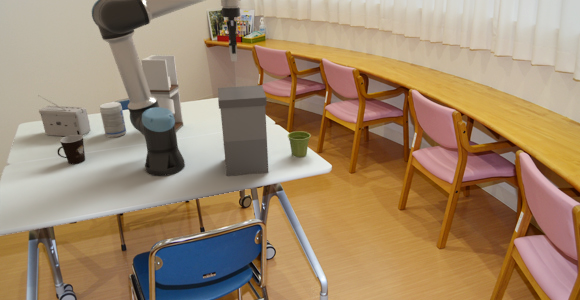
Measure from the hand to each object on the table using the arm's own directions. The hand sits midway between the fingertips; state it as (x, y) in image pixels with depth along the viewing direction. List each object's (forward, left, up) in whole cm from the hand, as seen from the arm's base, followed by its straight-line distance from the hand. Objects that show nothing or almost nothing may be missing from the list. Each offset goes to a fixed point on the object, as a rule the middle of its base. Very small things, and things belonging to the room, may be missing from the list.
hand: (233, 58), depth 196 cm
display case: (-37, +7, -36) cm, 52 cm away
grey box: (+10, -32, -36) cm, 50 cm away
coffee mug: (-63, -33, -36) cm, 80 cm away
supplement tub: (-60, -1, -36) cm, 70 cm away
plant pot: (+30, -20, -36) cm, 51 cm away
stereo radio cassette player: (-84, -2, -36) cm, 92 cm away
